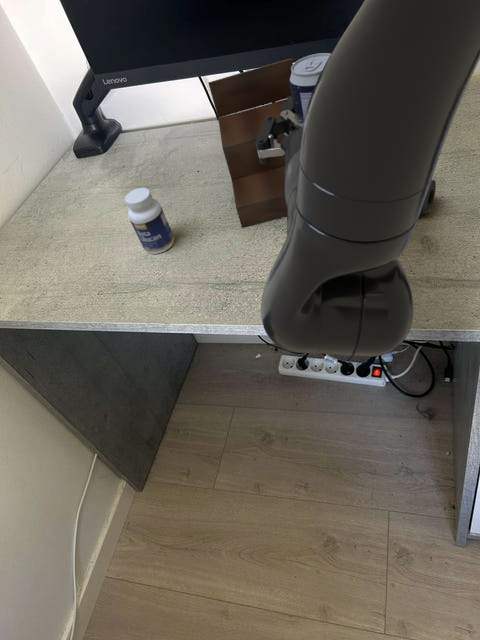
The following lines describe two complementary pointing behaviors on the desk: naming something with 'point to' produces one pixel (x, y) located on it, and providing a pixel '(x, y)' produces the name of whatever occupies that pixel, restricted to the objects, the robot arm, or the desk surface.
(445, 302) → the desk surface
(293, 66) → the beverage can
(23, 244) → the desk surface
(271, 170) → the wooden stair steps
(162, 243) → the pill bottle
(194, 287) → the desk surface
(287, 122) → the robot arm
